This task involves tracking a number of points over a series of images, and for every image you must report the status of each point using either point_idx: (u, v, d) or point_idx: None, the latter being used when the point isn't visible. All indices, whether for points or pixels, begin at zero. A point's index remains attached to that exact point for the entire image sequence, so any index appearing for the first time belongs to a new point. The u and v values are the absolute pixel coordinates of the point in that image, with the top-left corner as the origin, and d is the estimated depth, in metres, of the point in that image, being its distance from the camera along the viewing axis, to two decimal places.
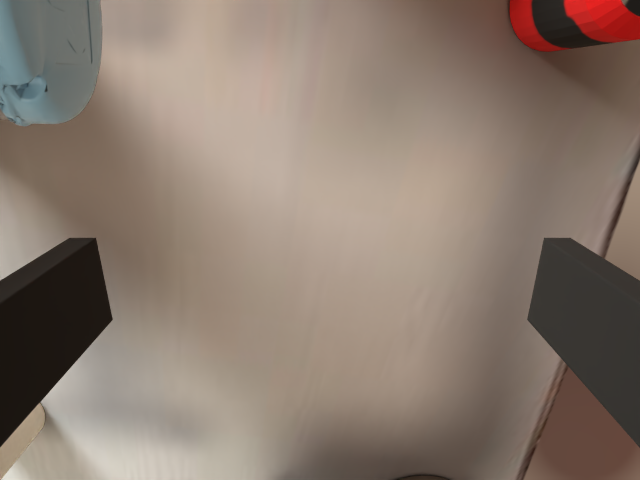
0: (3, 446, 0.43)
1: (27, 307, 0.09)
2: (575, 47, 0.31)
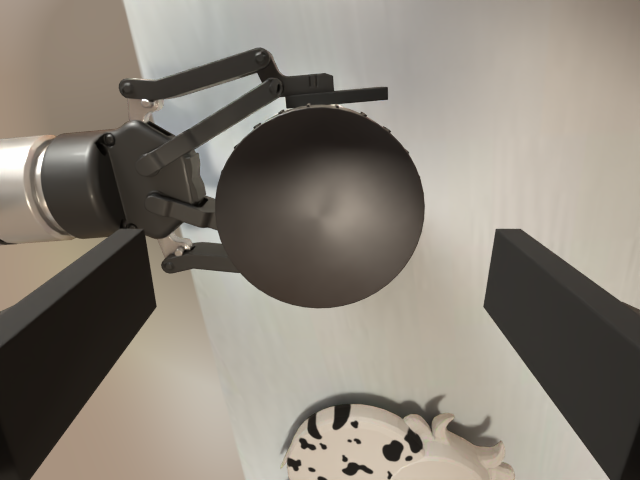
0: None
1: (94, 290, 0.10)
2: None
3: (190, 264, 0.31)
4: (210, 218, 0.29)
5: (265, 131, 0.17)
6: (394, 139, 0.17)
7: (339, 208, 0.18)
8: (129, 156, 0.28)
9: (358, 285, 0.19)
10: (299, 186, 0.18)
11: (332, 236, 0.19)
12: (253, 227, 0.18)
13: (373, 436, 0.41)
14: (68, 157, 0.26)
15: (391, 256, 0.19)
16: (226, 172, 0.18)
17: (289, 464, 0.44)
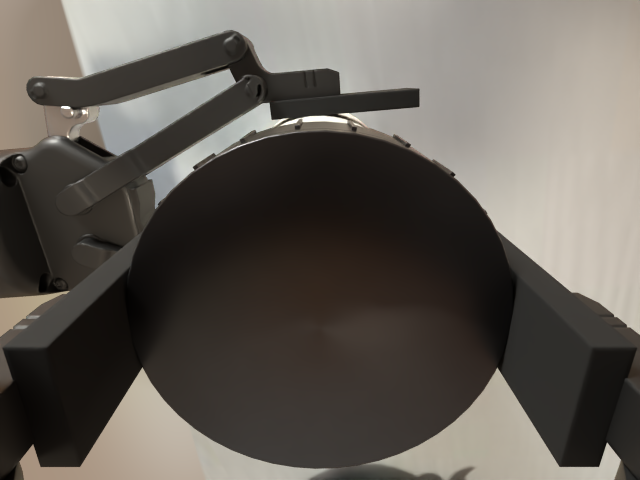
0: None
1: None
2: None
3: None
4: None
5: (213, 177, 0.09)
6: (465, 192, 0.09)
7: (356, 314, 0.10)
8: (49, 187, 0.20)
9: (387, 435, 0.11)
10: (282, 277, 0.09)
11: (342, 359, 0.10)
12: (199, 344, 0.10)
13: None
14: None
15: (447, 391, 0.11)
16: (143, 251, 0.09)
17: None
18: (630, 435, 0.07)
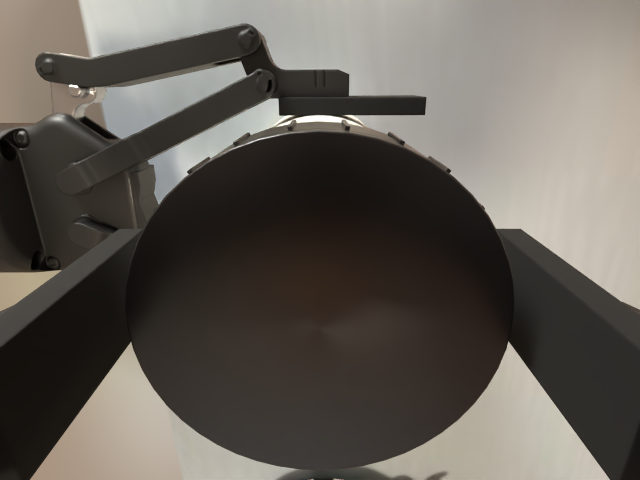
0: None
1: (94, 290, 0.10)
2: None
3: None
4: None
5: (182, 406, 0.11)
6: (158, 209, 0.09)
7: (302, 297, 0.10)
8: (49, 164, 0.19)
9: (468, 254, 0.09)
10: (266, 360, 0.10)
11: (358, 306, 0.10)
12: (341, 423, 0.11)
13: None
14: None
15: (404, 192, 0.09)
16: (252, 454, 0.11)
17: None
18: None
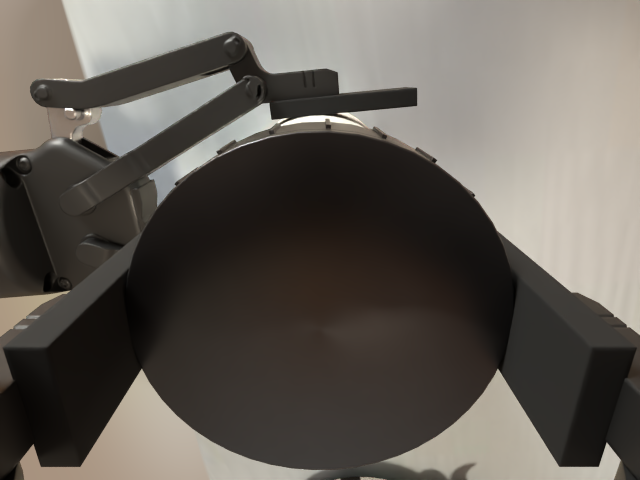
0: None
1: None
2: None
3: None
4: None
5: (191, 415, 0.11)
6: (149, 223, 0.09)
7: (299, 298, 0.10)
8: (53, 187, 0.20)
9: (461, 242, 0.09)
10: (270, 363, 0.10)
11: (355, 304, 0.10)
12: (351, 421, 0.11)
13: None
14: None
15: (390, 186, 0.09)
16: (265, 458, 0.11)
17: None
18: (630, 435, 0.07)
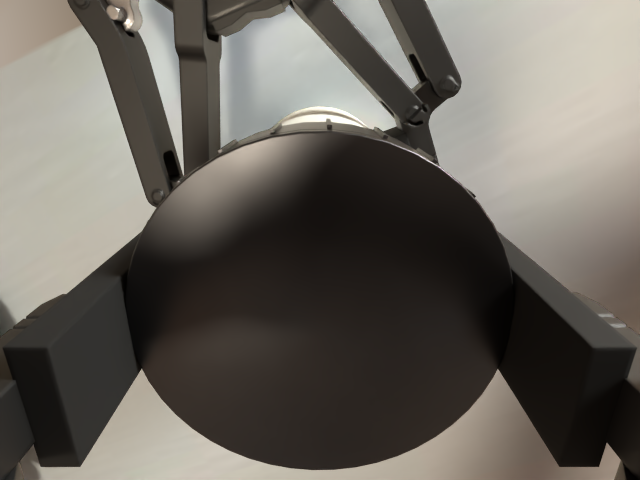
0: None
1: None
2: None
3: (101, 38, 0.18)
4: (194, 58, 0.18)
5: (191, 414, 0.11)
6: (149, 223, 0.09)
7: (299, 298, 0.10)
8: None
9: (462, 243, 0.09)
10: (269, 363, 0.10)
11: (356, 304, 0.10)
12: (351, 422, 0.11)
13: None
14: None
15: (391, 187, 0.09)
16: (264, 458, 0.11)
17: None
18: (630, 435, 0.07)
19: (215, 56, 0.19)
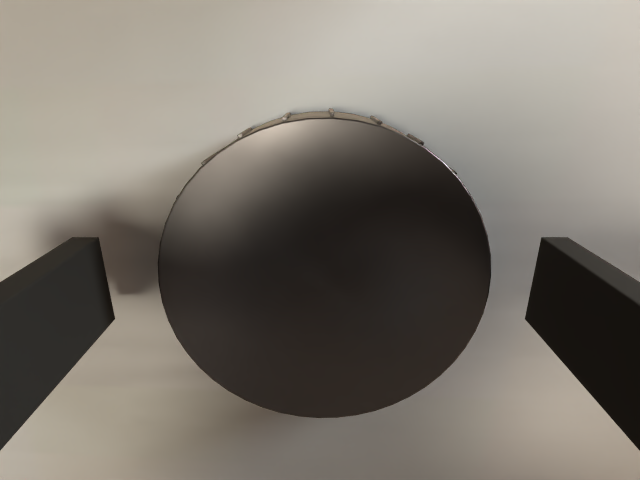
0: None
1: (30, 306, 0.09)
2: None
3: None
4: None
5: (212, 367, 0.12)
6: (180, 197, 0.11)
7: (307, 262, 0.11)
8: None
9: (445, 213, 0.11)
10: (281, 320, 0.12)
11: (355, 267, 0.11)
12: (351, 373, 0.13)
13: None
14: None
15: (384, 164, 0.10)
16: (276, 407, 0.13)
17: None
18: None
19: None
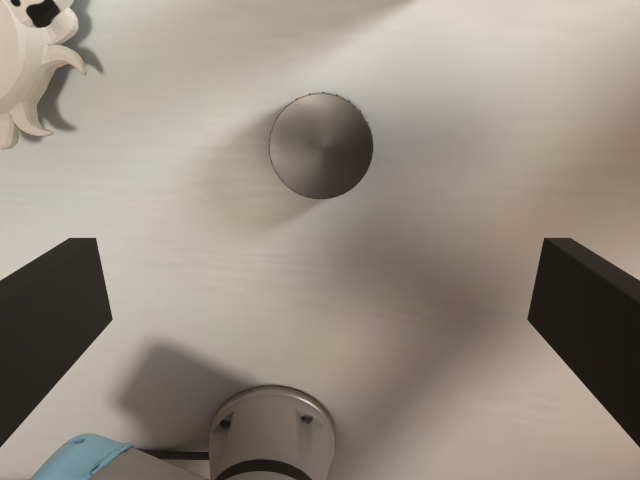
0: None
1: (27, 307, 0.09)
2: None
3: None
4: None
5: (284, 178, 0.38)
6: (278, 117, 0.36)
7: (315, 139, 0.36)
8: None
9: (357, 123, 0.36)
10: (307, 160, 0.37)
11: (330, 141, 0.36)
12: (330, 180, 0.38)
13: None
14: None
15: (338, 107, 0.35)
16: (304, 194, 0.38)
17: None
18: None
19: None
